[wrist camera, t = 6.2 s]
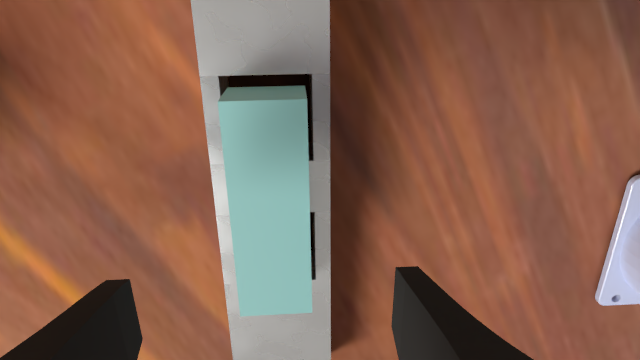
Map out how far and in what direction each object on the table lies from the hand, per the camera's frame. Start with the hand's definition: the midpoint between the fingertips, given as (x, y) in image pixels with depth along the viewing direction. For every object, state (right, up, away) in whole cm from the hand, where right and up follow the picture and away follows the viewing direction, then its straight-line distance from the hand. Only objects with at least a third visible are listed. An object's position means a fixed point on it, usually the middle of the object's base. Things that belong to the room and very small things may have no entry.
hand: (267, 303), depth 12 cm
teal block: (-1, +4, +9) cm, 10 cm away
